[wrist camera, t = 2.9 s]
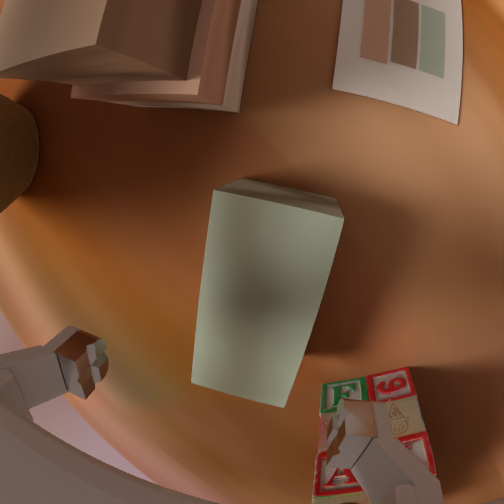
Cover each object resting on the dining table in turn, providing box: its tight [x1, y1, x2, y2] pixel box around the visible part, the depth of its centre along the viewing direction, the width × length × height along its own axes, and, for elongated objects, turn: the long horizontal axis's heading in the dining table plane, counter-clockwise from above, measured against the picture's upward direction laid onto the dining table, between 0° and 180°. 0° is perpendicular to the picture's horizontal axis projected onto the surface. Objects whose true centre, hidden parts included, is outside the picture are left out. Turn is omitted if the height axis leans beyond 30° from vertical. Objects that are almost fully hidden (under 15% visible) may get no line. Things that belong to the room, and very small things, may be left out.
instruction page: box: [332, 0, 463, 125], centre depth 12 cm, size 7×9×1 cm
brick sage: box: [191, 178, 344, 408], centre depth 15 cm, size 5×10×5 cm, turn 170°
